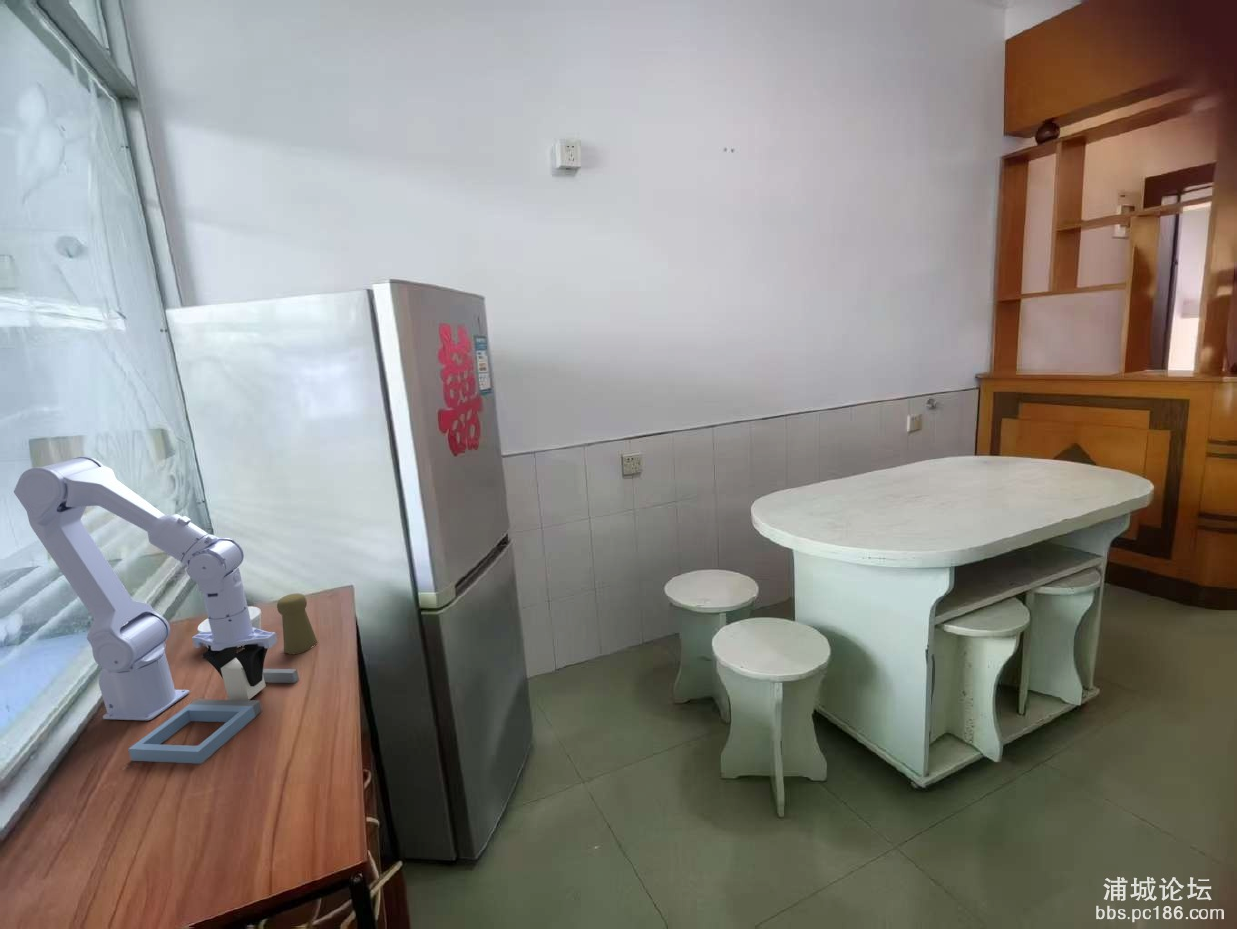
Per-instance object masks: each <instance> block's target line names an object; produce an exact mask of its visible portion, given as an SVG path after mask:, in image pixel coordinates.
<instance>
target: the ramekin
mask: <svg viewBox="0 0 1237 929" xmlns="http://www.w3.org/2000/svg"><path fill="white" fill-rule="evenodd" d="M248 611H249V615H250V619H251V623H252V627H253V628H257V629H260V630H262V627H261V626H262V623H261V621H262V620H261V618H262V610H261V608H259V607H256V606H248ZM196 630H197V632H198V633H197V634H199V633H200V632H209V631H211V628H210V624H209V620H208V618H206V619H204V620H203V621H202V622H200V624H198V626H197V629H196ZM239 647H240V648H242V647H241V646H237V649H239ZM206 648H207V649H208V646H206Z"/></svg>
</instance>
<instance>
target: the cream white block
mask: <svg viewBox="0 0 1237 929" xmlns="http://www.w3.org/2000/svg"><path fill="white" fill-rule="evenodd" d="M221 672H222V676H223V678H222V680H223V684H224V688H225V692H226V697H227V700H252V698H253V697H254V696H255V695H257V694H258V693H260V691H261V690H264V689H265V688H266V682H265V681H264V676H262V681H261V682H259V683H258V684H257V685H256V686H250V684H249V682H248V680H247V677H246V673H245V670H244V668H243V666H242V665H241V663H240V662H239V661H238V659H237V658H234V659H233V660H232V661H230V662H229V663H227V664H226V665H224V666H223V667H222V668H221Z"/></svg>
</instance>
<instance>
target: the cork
mask: <svg viewBox="0 0 1237 929" xmlns="http://www.w3.org/2000/svg"><path fill="white" fill-rule="evenodd" d="M307 603H308V602H307V598H306V597H305V595H304V594H303V593H290V594H287V595H283V596H282V597H281V598H279V599H278V601H277V604H276V609H277V611H278V614H279V615H281V621H282V635H283V652H284V653H285V654H286V653H289V654H288V655H294V654H293V653H298V654H301V652H302V653H304V651H305V652H307V651H309V650H311V649H312V648H311V647H312V646H314V645H315V644H316V643H317V644H318V640H317V637H316V634H315V632H314V630H313V627H312V624H311V621H310V619H309V616H308V613H307V610H306V607H307V605H308V604H307ZM317 644H316V645H317ZM316 645H315V646H316ZM315 646H314V647H315ZM310 648H311V649H310ZM308 649H309V650H308ZM306 650H307V651H306Z"/></svg>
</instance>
